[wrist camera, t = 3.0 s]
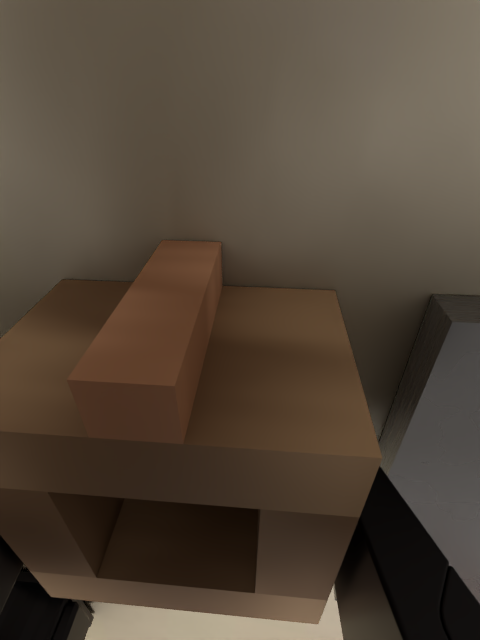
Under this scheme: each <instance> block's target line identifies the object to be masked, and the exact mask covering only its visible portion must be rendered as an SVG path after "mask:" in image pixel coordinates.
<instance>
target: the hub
mask: <svg viewBox="0 0 480 640" xmlns="http://www.w3.org/2000/svg"><path fill="white" fill-rule="evenodd" d="M378 444H379V448H380V451H381V455H382V461H381V463H380V467H381V468H382V469H383V471H384V472H385V474H386V475H387V476H388V478H389V479H390V481H391V482H392V483H393V485H394V486H395V487H396V489H397V490H398V492H399V493H400V494H401V496H402V497H403V499H404V500H405V501H406V503H407V504H408V506H409V507H410V508H411V510H412V511H413V512H414V514H415V515H416V517H417V518H418V519H419V521H420V522H421V524H422V525H423V526H424V528H425V529H426V531H427V532H428V533H429V535H430V536H431V537H432V539H433V540H434V542H435V543H436V544H437V546H438V547H439V549H440V550H441V551H442V553H443V554H444V555H445V557H446V558H447V560H448V561H449V566H452V567H453V568H454V569H455V570H456V572H457V573H458V575H459V576H460V578H461V579H462V580H463V582H464V583H465V585H466V586H467V587H468V589H469V590H470V591H471V593H472V594H473V595H474V597H475V598H476V599H477V601H478V602H479V603H480V296H456V295H432V297H431V300H430V303H429V305H428V308H427V311H426V314H425V316H424V319H423V322H422V325H421V327H420V330H419V333H418V336H417V338H416V341H415V344H414V347H413V349H412V352H411V355H410V358H409V361H408V363H407V366H406V369H405V372H404V374H403V377H402V380H401V383H400V385H399V388H398V391H397V394H396V396H395V399H394V402H393V405H392V407H391V410H390V413H389V416H388V418H387V421H386V424H385V427H384V429H383V432H382V435H381V438H380V441H379V443H378ZM333 587H334V596H335V600H337V597H336V591H335V585H333Z"/></svg>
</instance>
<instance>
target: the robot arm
mask: <svg viewBox="0 0 480 640" xmlns="http://www.w3.org/2000/svg"><path fill="white" fill-rule="evenodd" d="M23 564H24V563H23V562H22V561H21V560H20V558H19V557H18V556H17V555H16V553H15V552H14V551H13V550H12V549H11V547H10V546H9V545H8V544H7V542H6V541H5V540H4V539H3V538H2V536H1V535H0V640H84V639H85V636H86V633H87V631H88V628H89V627H90V626H91V624H92V621H93V618H94V617H93V615H92V614H91V613H90V611H89V610H88V608H87V607H86V605H85V604H84V602H83V601H82V600H76V599H66V598H56V597H51V596H50V595H49V594H48V593H47V591H46V590H45V589H44V588H43V586H42V585H41V584H40V583H39V582H38V580H37V579H36V578H35V577H34V575H33V574H32V573H31V572H22V571H20V570H21V568H22V566H23ZM334 585H335V591H336V597H337V603H338V609H339V616H340V622H341V628H342V634H343V640H480V603H479V602H478V601H477V599H476V598H475V597H474V595H473V594H472V593H471V591H470V590H469V589H468V587H467V586H466V585H465V583H464V582H463V580H462V579H461V578H460V576H459V575H458V573H457V572H456V570H455V569H454V568H453V567H452V566H449V561H448V560H447V558H446V557H445V555H444V554H443V553H442V551H441V550H440V549H439V547H438V546H437V544H436V543H435V542H434V540H433V539H432V537H431V536H430V535H429V533H428V532H427V531H426V529H425V528H424V526H423V525H422V524H421V522H420V521H419V519H418V518H417V517H416V515H415V514H414V512H413V511H412V510H411V508H410V507H409V506H408V504H407V503H406V501H405V500H404V499H403V497H402V496H401V494H400V493H399V492H398V490H397V489H396V487H395V486H394V485H393V483H392V482H391V481H390V479H389V478H388V476H387V475H386V474H385V472H384V471H383V469H382V468H381V467H380V466H379V468H378V471H377V474H376V476H375V479H374V481H373V484H372V487H371V489H370V492H369V494H368V497H367V499H366V502H365V505H364V507H363V510H362V512H361V515H360V517H359V520H358V523H357V525H356V528H355V530H354V533H353V536H352V538H351V541H350V543H349V546H348V548H347V551H346V554H345V556H344V559H343V561H342V564H341V566H340V569H339V572H338V574H337V577H336V579H335V582H334Z"/></svg>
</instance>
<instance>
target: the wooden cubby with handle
mask: <svg viewBox="0 0 480 640" xmlns="http://www.w3.org/2000/svg"><path fill="white" fill-rule="evenodd" d="M381 461H382V455H381V451H380V448H379V444H378V441H377V437H376V434H375V430H374V427H373V423H372V419H371V416H370V412H369V409H368V405H367V402H366V398H365V395H364V391H363V388H362V384H361V381H360V377H359V374H358V370H357V366H356V363H355V359H354V356H353V352H352V349H351V345H350V342H349V338H348V335H347V331H346V328H345V324H344V320H343V317H342V313H341V310H340V306H339V303H338V299H337V296H336V292H335V290H314V289H289V288H264V287H239V286H223V284H222V253H221V242H205V241H174V240H162V241H161V243H160V244H159V246H158V247H157V249H156V250H155V252H154V253H153V254H152V256H151V257H150V259H149V260H148V262H147V263H146V265H145V266H144V268H143V269H142V271H141V272H140V273H139V275H138V276H137V278H136V279H135V281H134V282H116V281H91V280H66V279H62V280H61V281H60V282H59V283H58V284H57V285H56V286H55V287H54V288H53V289H52V290H51V291H50V292H49V293H48V294H47V295H45V296H44V297H43V298H42V299H41V300H40V301H39V302H38V303H37V304H36V305H35V306H34V307H33V308H32V309H31V310H30V311H29V312H28V313H27V314H26V315H25V316H24V317H22V318H21V319H20V320H19V321H18V322H17V323H16V324H15V325H14V326H13V327H12V328H11V329H10V330H9V331H8V332H7V333H6V334H5V335H4V336H3V337H2V338H0V535H1V536H2V538H3V539H4V540H5V541H6V542H7V544H8V545H9V546H10V547H11V549H12V550H13V551H14V552H15V553H16V555H17V556H18V557H19V558H20V560H21V561H22V562H23V563H24V564H25V566H26V567H27V568H28V569H29V571H30V572H31V573H32V574H33V575H34V577H35V578H36V579H37V580H38V582H39V583H40V584H41V585H42V586H43V588H44V589H45V590H46V591H47V593H48V594H49V595H50V596H51V597H56V598H66V599H76V600H86V601H96V602H105V603H115V604H125V605H135V606H145V607H154V608H164V609H174V610H184V611H193V612H203V613H213V614H223V615H233V616H242V617H252V618H262V619H272V620H282V621H291V622H301V623H311V624H318V623H319V621H320V618H321V615H322V613H323V610H324V608H325V605H326V603H327V600H328V597H329V595H330V592H331V590H332V587H333V585H334V582H335V579H336V577H337V574H338V572H339V569H340V566H341V564H342V561H343V559H344V556H345V554H346V551H347V548H348V546H349V543H350V541H351V538H352V536H353V533H354V530H355V528H356V525H357V523H358V520H359V517H360V515H361V512H362V510H363V507H364V505H365V502H366V499H367V497H368V494H369V492H370V489H371V487H372V484H373V481H374V479H375V476H376V474H377V471H378V468H379V466H380V463H381Z"/></svg>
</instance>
